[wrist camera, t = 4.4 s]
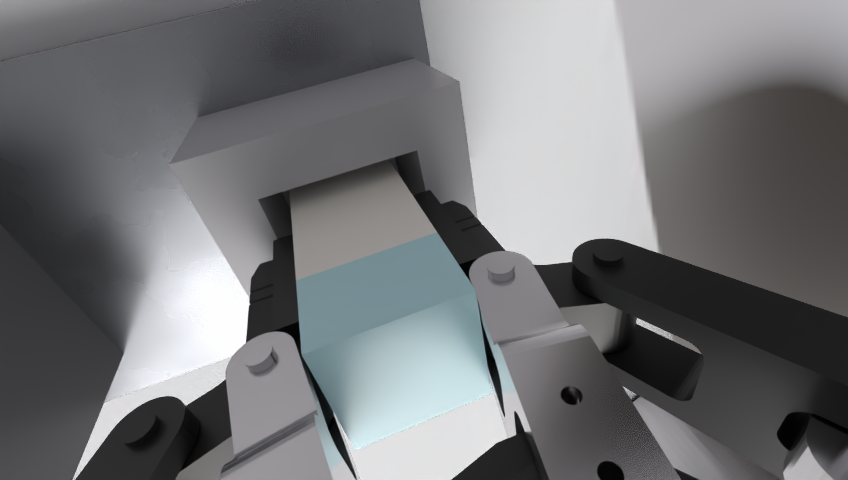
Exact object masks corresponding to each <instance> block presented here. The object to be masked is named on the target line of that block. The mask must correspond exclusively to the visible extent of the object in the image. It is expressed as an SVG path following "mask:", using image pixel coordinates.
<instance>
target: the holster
mask: <svg viewBox="0 0 848 480" xmlns="http://www.w3.org/2000/svg"><path fill="white" fill-rule="evenodd" d="M394 157H395V159H396V163H397V167H398V171H399V175H400V177H401V179H402V180H403V182H404V183H405V185H406V186H407V188H408V189H409V191H410V192H411V194H412V195H415V194H418V193H421V192H424V191H427V190H431V191H432V193H433V194H434V195H435V197H436V198H437V199H438V201H439V202H440V203H441V204H443V203H446V202H449V201H452V200H453V201H456V202H458V203H460V204H463V205H465V206H467V207H468V209H469V210H470V211H471V212H472V213H473V214H474V215H475V217H476V218H477V211H476V204H475V196H474V189H473V181H472V174H471V166H470V159H469V152H468V144H467V137H466V129H465V122H464V114H463V107H462V99H461V92H460V84H459V81H457V80H455V79H453V78H451V77H449V76H447V75H445V74H444V73H442V72H440V71H438V70H436V69H434V68H432V67H430V66H428V65H426V64H424V63H422V62H420V61H418V60H416V59H410V60H406V61H403V62H399V63H395V64H392V65H388V66H384V67H381V68H377V69H373V70H370V71H366V72H362V73H359V74H355V75H351V76H348V77H344V78H340V79H337V80H333V81H329V82H326V83H322V84H318V85H315V86H311V87H307V88H304V89H300V90H296V91H293V92H289V93H285V94H282V95H278V96H274V97H271V98H267V99H263V100H260V101H256V102H252V103H249V104H245V105H241V106H238V107H234V108H230V109H227V110H223V111H219V112H216V113H212V114H208V115H205V116H201V117H197V118H196V120H195V122H194V123H193V125H192V127H191V128H190V130H189V132H188V133H187V135H186V137H185V138H184V140H183V142H182V143H181V145H180V147H179V148H178V150H177V152H176V153H175V155H174V157H173V159H172V160H171V162H170V164H169V166H170V168H171V169H172V171H173V173H174V174H175V176H176V178H177V179H178V181H179V183H180V184H181V186H182V187H183V189H184V191H185V192H186V194H187V196H188V197H189V199H190V201H191V202H192V204H193V206H194V207H195V209H196V211H197V212H198V214H199V216H200V217H201V219H202V221H203V222H204V224H205V226H206V227H207V229H208V231H209V232H210V234H211V236H212V237H213V239H214V241H215V242H216V244H217V245H218V247H219V249H220V250H221V252H222V254H223V255H224V257H225V259H226V260H227V262H228V264H229V265H230V267H231V269H232V270H233V272H234V274H235V275H236V277H237V279H238V280H239V282H240V284H241V285H242V287H243V289H244V290H245V292H246V294H247V295H248V297H249V298H250V294H251V293H250V285H251V277H252V276H253V274H254V273H255V271H256V269H257V268H258V266H259V265H260V264H261V263H264V262H267V261H270V260H273V241H274V240H276V239H279V238H282V237H285V236H288V235H291V234H293V233H292V220H291V211H290V209H289V207H288V205H287V202H286V200H285V198H284V196H283V193H282V192H283V191H287V190H290V189H293V188H296V187H300V186H303V185H306V184H309V183H313V182H316V181H319V180H322V179H326V178H329V177H332V176H335V175H339V174H342V173H345V172H348V171H352V170H355V169H358V168H361V167H364V166H368V165H371V164H374V163H377V162H381V161H384V160H387V159H390V158H394Z"/></svg>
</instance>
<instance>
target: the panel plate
mask: <svg viewBox="0 0 848 480" xmlns="http://www.w3.org/2000/svg"><path fill="white" fill-rule="evenodd" d="M410 59H416V60H418V61H420V62H422V63H424V64H426V65H428V66H430V61H429V55H428V50H427V44H426V38H425V32H424V26H423V20H422V14H421V8H420V2H419V0H257V1H252V2H248V3H244V4H240V5H235V6H231V7H227V8H223V9H219V10H214V11H210V12H206V13H202V14H197V15H193V16H189V17H185V18H181V19H176V20H172V21H168V22H164V23H159V24H155V25H151V26H147V27H143V28H138V29H134V30H130V31H126V32H121V33H117V34H113V35H109V36H105V37H100V38H96V39H92V40H88V41H83V42H79V43H75V44H71V45H67V46H62V47H58V48H54V49H50V50H45V51H41V52H37V53H33V54H29V55H24V56H20V57H16V58H12V59H7V60H3V61H0V224H1V226H2V227H3V228H4V229H5V230H6V231H7V232H8V233H9V234H10V235H11V236H12V237H13V238H14V239H15V240H16V241H17V242H18V243H19V244H20V245H21V246H22V248H23V249H24V250H25V251H26V252H27V253H28V254H29V255H30V256H31V257H32V258H33V259H34V260H35V261H36V262H37V263H38V264H39V265H40V266H41V267H42V268H43V270H44V271H45V272H46V273H47V274H48V275H49V276H50V277H51V278H52V279H53V280H54V281H55V282H56V283H57V284H58V285H59V286H60V287H61V288H62V289H63V290H64V292H65V293H66V294H67V295H68V296H69V297H70V298H71V299H72V300H73V301H74V302H75V303H76V304H77V305H78V306H79V307H80V308H81V309H82V310H83V311H84V313H85V314H86V315H87V316H88V317H89V318H90V319H91V320H92V321H93V322H94V323H95V324H96V325H97V326H98V327H99V328H100V329H101V330H102V331H103V332H104V333H105V335H106V336H107V337H108V338H109V339H110V340H111V341H112V342H113V343H114V344H115V345H116V346H117V347H118V348H119V349H120V350H121V351H122V352H123V353H124V355H123V357H122V360H121V362H120V365H119V367H118V370H117V372H116V374H115V377H114V379H113V382H112V384H111V387H110V389H109V391H108V394H107V396H106V399H105V401H104V402H107V401H110V400H113V399H115V398H118V397H121V396H124V395H127V394H129V393H132V392H135V391H138V390H140V389H143V388H146V387H149V386H151V385H154V384H157V383H160V382H162V381H165V380H168V379H171V378H174V377H176V376H179V375H182V374H185V373H187V372H190V371H193V370H196V369H198V368H201V367H204V366H207V365H210V364H212V363H215V362H218V361H221V360H223V359H226V358H229V357H232V356H233V355H234V354H235V352H236V351H237V350H238V349H239V348H240V347H242V346H243V345H244V344H245V343H246V336H247V323H248V310H249V305H250V304H249V297H248V295H247V294H246V292H245V290H244V289H243V287H242V285H241V284H240V282H239V280H238V279H237V277H236V275H235V274H234V272H233V270H232V269H231V267H230V265H229V264H228V262H227V260H226V259H225V257H224V255H223V254H222V252H221V250H220V249H219V247H218V245H217V244H216V242H215V241H214V239H213V237H212V236H211V234H210V232H209V231H208V229H207V227H206V226H205V224H204V222H203V221H202V219H201V217H200V216H199V214H198V212H197V211H196V209H195V207H194V206H193V204H192V202H191V201H190V199H189V197H188V196H187V194H186V192H185V191H184V189H183V187H182V186H181V184H180V183H179V181H178V179H177V178H176V176H175V174H174V173H173V171H172V169H171V168H170V166H169V164H170V162H171V160H172V159H173V157H174V155H175V153H176V152H177V150H178V148H179V147H180V145H181V143H182V142H183V140H184V138H185V137H186V135H187V133H188V132H189V130H190V128H191V127H192V125H193V123H194V122H195V120H196V118H197V117H201V116H205V115H208V114H212V113H216V112H219V111H223V110H227V109H230V108H234V107H238V106H241V105H245V104H249V103H252V102H256V101H260V100H263V99H267V98H271V97H274V96H278V95H282V94H285V93H289V92H293V91H296V90H300V89H304V88H307V87H311V86H315V85H318V84H322V83H326V82H329V81H333V80H337V79H340V78H344V77H348V76H351V75H355V74H359V73H362V72H366V71H370V70H373V69H377V68H381V67H384V66H388V65H392V64H395V63H399V62H403V61H406V60H410ZM389 160H390V162H391V163H392V165H393V166H394V168H395V169H396V171H397V173H398V174H399V171H398V167H397V163H396V159H395V157H394V158H390V159H389ZM399 176H400V175H399ZM282 193H283V196H284V198H285V200H286V202H287V205H288V207H289V209H290V211H291V206H290V193H289V190H287V191H283V192H282Z"/></svg>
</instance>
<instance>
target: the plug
mask: <svg viewBox="0 0 848 480" xmlns="http://www.w3.org/2000/svg"><path fill="white" fill-rule="evenodd" d="M289 193H290V206H291V220H292V233H293V247H294V260H295V273H296V287H297V300H298V314H299V327H300V341H301V354H302V357H303V358H304V360H305V362H306V364H307V365H308V367H309V369H310V371H311V373H312V374H313V376H314V378H315V380H316V381H317V383H318V385H319V387H320V389H321V390H322V392H323V394H324V396H325V397H326V399H327V401H328V403H329V405H330V406H331V408H332V410H333V412H334V413H335V415H336V417H337V419H338V421H339V422H340V424H341V426H342V428H343V429H344V431H345V433H346V435H347V436H348V438H349V440H350V442H351V444H352V445H353V447H354V449H355V450H358V449H360V448H363V447H365V446H367V445H370V444H372V443H375V442H377V441H379V440H382V439H384V438H387V437H389V436H392V435H394V434H396V433H399V432H401V431H404V430H406V429H408V428H411V427H413V426H416V425H418V424H421V423H423V422H425V421H428V420H430V419H433V418H435V417H437V416H440V415H442V414H445V413H447V412H450V411H452V410H454V409H457V408H459V407H462V406H464V405H467V404H469V403H471V402H474V401H476V400H479V399H481V398H483V397H486V396H488V395H491V394H492V392H491V385H490V379H489V372H488V366H487V359H486V353H485V347H484V340H483V334H482V327H481V321H480V315H479V308H478V302H477V295H476V290H475V289H474V287H473V286H472V284H471V283H470V281H469V279H468V278H467V276H466V275H465V273H464V272H463V270H462V269H461V267H460V266H459V264H458V263H457V261H456V260H455V258H454V257H453V255H452V254H451V252H450V251H449V249H448V248H447V246H446V245H445V243H444V242H443V240H442V239H441V237H440V236H439V234H438V233H437V231H436V230H435V228H434V227H433V225H432V224H431V222H430V221H429V219H428V218H427V216H426V215H425V213H424V212H423V210H422V209H421V207H420V206H419V204H418V203H417V201H416V200H415V198H414V197H413V195H412V194H411V192H410V191H409V189H408V188H407V186H406V185H405V183H404V182H403V180H402V179H401V177H400V176H399V174H398V173H397V171H396V169H395V168H394V166H393V165H392V163H391V162H390V160H389V159H387V160H384V161H381V162H377V163H374V164H371V165H368V166H364V167H361V168H358V169H355V170H352V171H348V172H345V173H342V174H339V175H335V176H332V177H329V178H326V179H322V180H319V181H316V182H313V183H309V184H306V185H303V186H300V187H296V188H293V189H290V190H289Z"/></svg>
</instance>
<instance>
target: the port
mask: <svg viewBox="0 0 848 480" xmlns="http://www.w3.org/2000/svg"><path fill="white" fill-rule="evenodd" d="M123 355H124V353H123V352H122V351H121V350H120V349H119V348H118V347H117V346H116V345H115V344H114V343H113V342H112V341H111V340H110V339H109V338H108V337H107V336H106V335H105V333H104V332H103V331H102V330H101V329H100V328H99V327H98V326H97V325H96V324H95V323H94V322H93V321H92V320H91V319H90V318H89V317H88V316H87V315H86V314H85V313H84V311H83V310H82V309H81V308H80V307H79V306H78V305H77V304H76V303H75V302H74V301H73V300H72V299H71V298H70V297H69V296H68V295H67V294H66V293H65V292H64V290H63V289H62V288H61V287H60V286H59V285H58V284H57V283H56V282H55V281H54V280H53V279H52V278H51V277H50V276H49V275H48V274H47V273H46V272H45V271H44V270H43V268H42V267H41V266H40V265H39V264H38V263H37V262H36V261H35V260H34V259H33V258H32V257H31V256H30V255H29V254H28V253H27V252H26V251H25V250H24V249H23V248H22V246H21V245H20V244H19V243H18V242H17V241H16V240H15V239H14V238H13V237H12V236H11V235H10V234H9V233H8V232H7V231H6V230H5V229H4V228H3V227H2V226H1V224H0V480H72V479H73V477H74V474H75V472H76V469H77V467H78V465H79V462H80V460H81V457H82V455H83V452H84V450H85V447H86V445H87V443H88V440H89V438H90V435H91V433H92V430H93V428H94V426H95V423H96V421H97V418H98V416H99V413H100V411H101V408H102V406H103V404H104V401H105V399H106V396H107V394H108V391H109V389H110V387H111V384H112V382H113V379H114V377H115V374H116V372H117V370H118V367H119V365H120V362H121V360H122V357H123Z"/></svg>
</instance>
